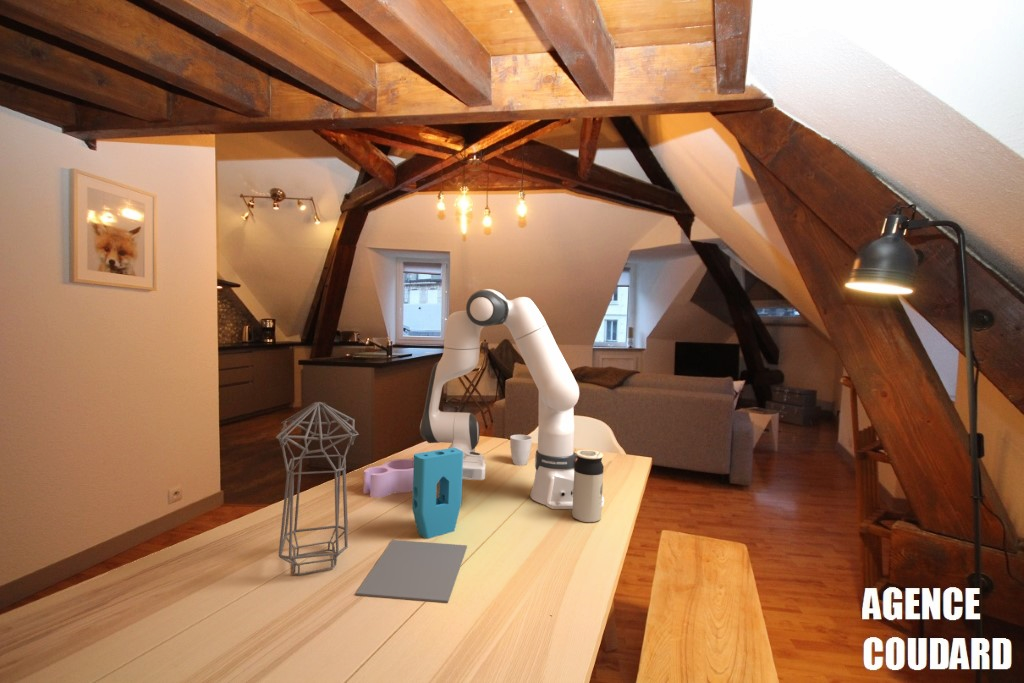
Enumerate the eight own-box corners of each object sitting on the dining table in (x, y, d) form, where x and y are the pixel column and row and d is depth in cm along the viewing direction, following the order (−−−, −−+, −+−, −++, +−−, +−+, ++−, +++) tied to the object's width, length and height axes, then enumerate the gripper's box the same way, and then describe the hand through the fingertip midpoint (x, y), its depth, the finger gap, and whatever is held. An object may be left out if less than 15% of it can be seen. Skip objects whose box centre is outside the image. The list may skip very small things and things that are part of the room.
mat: (467, 547, 111) (467, 545, 111) (447, 602, 89) (447, 600, 89) (392, 541, 112) (392, 539, 112) (355, 595, 91) (355, 593, 90)
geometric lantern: (279, 550, 106) (281, 396, 104) (352, 541, 112) (356, 395, 110) (270, 589, 91) (273, 410, 90) (355, 576, 97) (359, 408, 95)
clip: (378, 502, 136) (379, 478, 136) (356, 490, 145) (356, 468, 144) (433, 485, 151) (433, 464, 151) (410, 475, 159) (410, 455, 159)
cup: (531, 460, 181) (532, 435, 181) (530, 467, 173) (531, 440, 172) (510, 459, 182) (511, 433, 181) (508, 465, 174) (509, 439, 173)
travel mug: (567, 518, 129) (570, 454, 129) (577, 509, 136) (580, 447, 136) (595, 525, 126) (599, 459, 125) (604, 515, 133) (607, 452, 132)
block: (419, 541, 113) (421, 459, 112) (410, 533, 117) (412, 454, 116) (461, 529, 120) (464, 452, 120) (452, 522, 124) (454, 447, 123)
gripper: (421, 450, 142) (408, 464, 128) (488, 454, 141) (482, 468, 127) (421, 470, 142) (407, 486, 129) (488, 475, 141) (481, 491, 127)
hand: (445, 478), depth 128 cm, fingers closed
